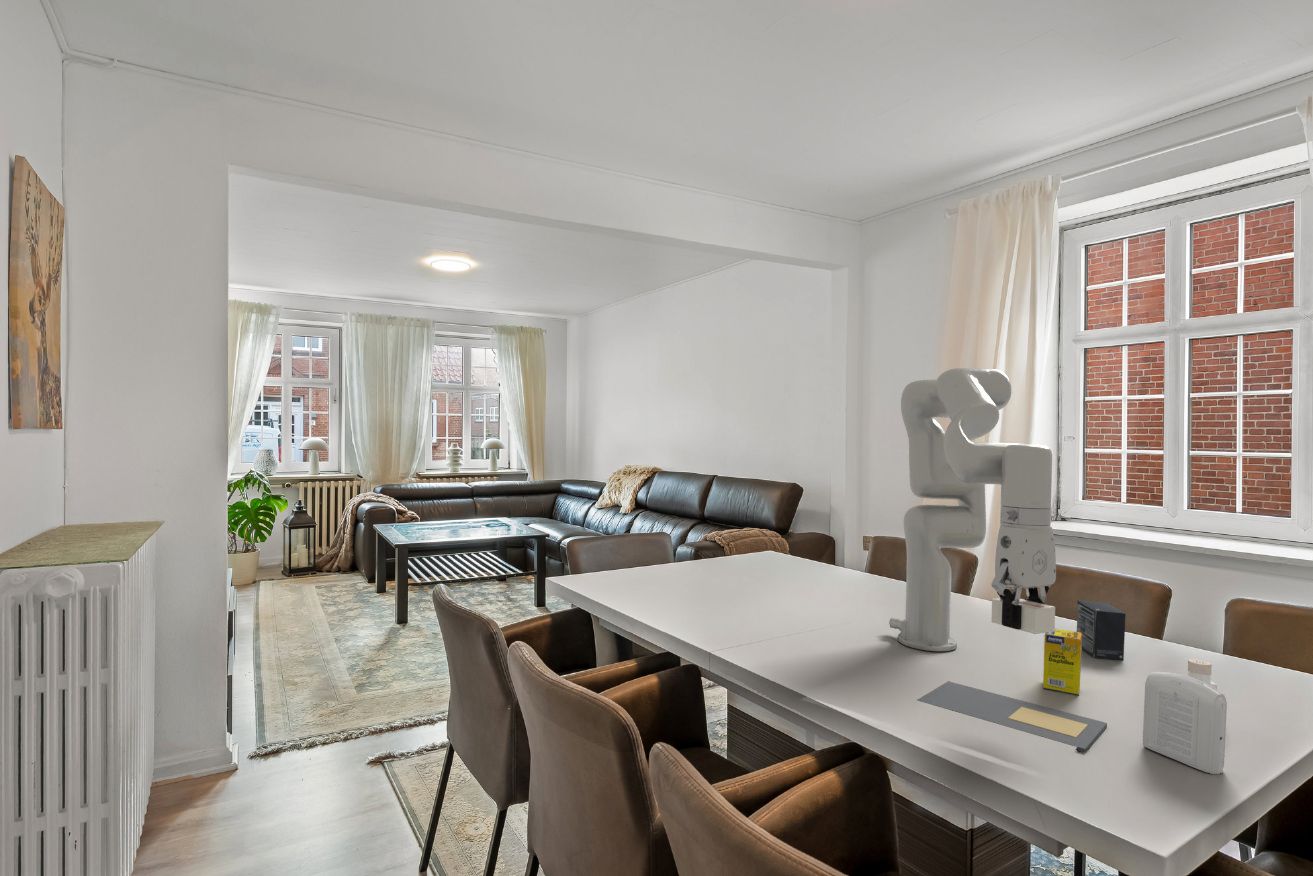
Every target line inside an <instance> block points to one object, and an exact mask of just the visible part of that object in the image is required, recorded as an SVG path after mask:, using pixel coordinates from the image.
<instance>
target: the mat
mask: <svg viewBox="0 0 1313 876" xmlns="http://www.w3.org/2000/svg"><path fill="white" fill-rule="evenodd" d="M916 701H919V702H922V703H926V704H929V705H933V706H936V707H938V708H942V709H945V710H950V711H952V712H956V713H960V714H963V715H967V716H969V717H972V718H973V717H974V718H977V719H981V720H984V721H987V722H991V723H995V724H998V725H1000V726H1005V727H1008V728H1011V729H1014V730H1018V731H1021V732H1025V733H1029V734H1032V735H1035V736H1039V737H1042V738H1046V739H1049V740H1052V741H1056V742H1059V743H1062V744H1066V745H1070V746H1073V747H1075V750H1074V751H1077V752H1081V753H1083V754H1084V753H1087V751H1088V750H1089V749H1090V747H1092V745H1093V744H1094V743H1095V742H1096V741H1097V739H1098V738H1099V737H1100V736H1101V734H1102V733H1103V732H1104V731H1105V730H1106V728H1108V723H1107V722H1105V721H1100V720H1097V719H1093V718H1090V717H1086V716H1082V715H1078V714H1074V713H1070V712H1066V711H1063V710H1059V709H1054V708H1051V707H1048V706H1044V705H1040V704H1038V703H1032V702H1028V701H1024V700H1022V699H1017V698H1014V697H1010V696H1006V695H1003V694H999V693H995V692H991V691H987V690H983V689H979V688H975V687H971V686H968V685H964V684H960V683H958V682H953V681H950V680H949V681H946V682H945V683H943V684H941V685H939V686H938V687H936V688H934V689H933V690H931V691H930V692H928V693H926V694H924V695H922V696H920V697H919V698H918V699H916Z"/></svg>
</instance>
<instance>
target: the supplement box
mask: <svg viewBox="0 0 1313 876" xmlns="http://www.w3.org/2000/svg"><path fill="white" fill-rule="evenodd" d="M1043 643H1044V644H1043V645H1044V647H1043V648H1044V649H1043V652H1044V653H1043V674H1042V675H1043V676H1042V677H1043V679H1042V689H1043V690H1046V691H1051V692H1057V693H1062V694H1067V695H1073V696H1077V697H1078V696H1080V687H1081V686H1080V685H1081V669H1082V668H1081V667H1082V650H1083V649H1082V633H1080V632H1077V631H1074V630H1067V629H1066V630H1065V629H1060V628H1055V631H1052V632H1046V633H1044V641H1043Z"/></svg>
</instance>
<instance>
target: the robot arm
mask: <svg viewBox="0 0 1313 876" xmlns="http://www.w3.org/2000/svg"><path fill="white" fill-rule="evenodd" d="M1011 398H1012V385H1011V381H1010V379H1009V377H1008V376H1007V375H1006V373H1004V372H1003V371H1001V370H999V369H996V368H972V367H971V368H966V367H957V368H950V369H947V370H945V371H944V372H942V373H941V374H940V375H939V376H938V377H937V378H936V379H920V380H915V381H912V382H910V383H908V384H906V386H904V389H903V390H902V393H901V398H900V410H901V411H900V412H901V417H902V421H903V424H904V427H905V430H906V434H907V437H908V466H909V467H908V468H909V486H910V491H911V492H912V494H913V496H916V497H918V498H920V499H930V500H956V501H957V505H946V504H920V505H915V506H911V507H910V508H909V509H908V510H906V512H905V514H904V516H903V532H904V539H905V547H906V548H905V549H906V579H905V580H906V581H905V583H906V585H905V615H904V619H902V620H901V619H899V618H895V617H890V619H889V620H888V621H889V622H888V623H889V628H890V629H891V628H892V629H895V630H896V629H897V630H899V631H900V633H898V634H897V641H898V642H899V643H900V644H902V645H903V646H906V647H909V648H912V649H917V650H922V651H929V652H949V651H953V650H956V648H957V647H958V641H957V640H956V639H955V638H953V637H951V634H950V633H951V632H950V629H951V628H950V627H951V603H952V602H951V597H952V596H951V595H952V567H951V564H950V561H949V560H948V559H947V557H946V556H945V555H944V554H943V552H942V550H941V549H945V548H949V549H950V548H951V549H953V548H956V549H975V548H977V547H980V546H981V545H982V544H983V543H984V541H985V538H986V533H987V512H986V511H987V508H986V506H987V505H986V485H1000V514H999V517H1000V519H999V521H1000V522H999V530H998V533H997V541H996V547H995V548H996V549H995V556H994V557H995V559H994V575H995V576H994V578H993V580H992V582H991V587H992V588H993V589H994V590H995V591H996V594H997V595H998V596H999V598H1000V601H1001V602H1002V625H1001V626H1003V627H1007V628H1010V629H1015V630H1016V631H1017V630H1018V629H1021V612H1022V605H1018V604H1019V601H1020V599H1021V594H1022V591H1023V589H1025V593H1026V597H1027V598H1023V599H1024V600H1028V601H1032V602H1037V603H1041V604H1045V602H1046V601H1047V594H1048V592H1049V590H1050V588H1051V586H1052V585H1054V584H1055V582H1056V580H1057V559H1056V557H1057V556H1056V554H1057V553H1056V544H1055V543H1056V542H1055V535H1054V530H1053V527H1052V526H1051V524H1052V523H1051V521H1052V516H1051V515H1052V488H1053V487H1052V482H1053V481H1052V479H1053V453H1052V450H1051V449H1050V448H1049V447H1048V446H1046V445H1044V444H1043V445H1041V444H1026V443H1018V442H1016V443H1015V442H1014V443H1013V442H1011V443H1010V442H992V441H991V442H988V441H987V442H986V441H985V442H983V441H974V440H976V439H979V438H982V437H984V436H986V435H987V434H989V433H990V432H992V430H994V428H995V427H997V424H998V422H999V420H1000V410H1002V409H1003V408H1005V407H1006V406H1007V405H1008V404H1009V402H1010V400H1011ZM935 418H944V419H945V418H946V419H947V418H949V419H950V422H949V424H948V426H947V427H946V429H945V430H944V429H943V427H942V426H941V424H940V423H938V421H937V420H935ZM1010 589H1012V590H1013V593H1012V591H1011V590H1010ZM1018 631H1019V630H1018Z"/></svg>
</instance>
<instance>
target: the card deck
mask: <svg viewBox="0 0 1313 876" xmlns="http://www.w3.org/2000/svg"><path fill="white" fill-rule="evenodd" d="M1024 599H1025V598H1020V601H1019V604H1018V605H1022V612H1021V629H1018V631H1022V632H1026V633H1029V634H1034V635H1037V634H1038V635H1039V634H1045V633H1046V632H1052V631H1055V629H1056V627H1055V626H1056V623H1055V622H1056V606H1053V605H1049V604H1045V603H1044V604H1041V603H1037V602H1032V601H1028V600H1024ZM991 623H993V624H997V625H999V626H1000V625H1001V626H1003V625H1002V602H1001V601H1000V597H995V598H992V599H991Z"/></svg>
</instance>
